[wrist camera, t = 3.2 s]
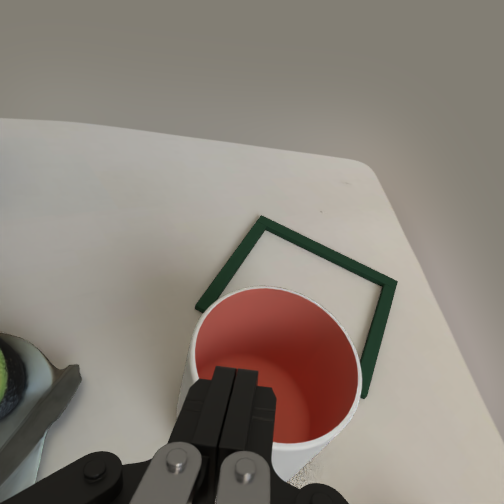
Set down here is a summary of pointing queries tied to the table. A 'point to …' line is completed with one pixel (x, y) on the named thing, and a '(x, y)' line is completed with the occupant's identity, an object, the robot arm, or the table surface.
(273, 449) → the cup
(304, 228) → the table surface
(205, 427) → the robot arm
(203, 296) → the frame
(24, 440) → the salad plate
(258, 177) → the table surface
